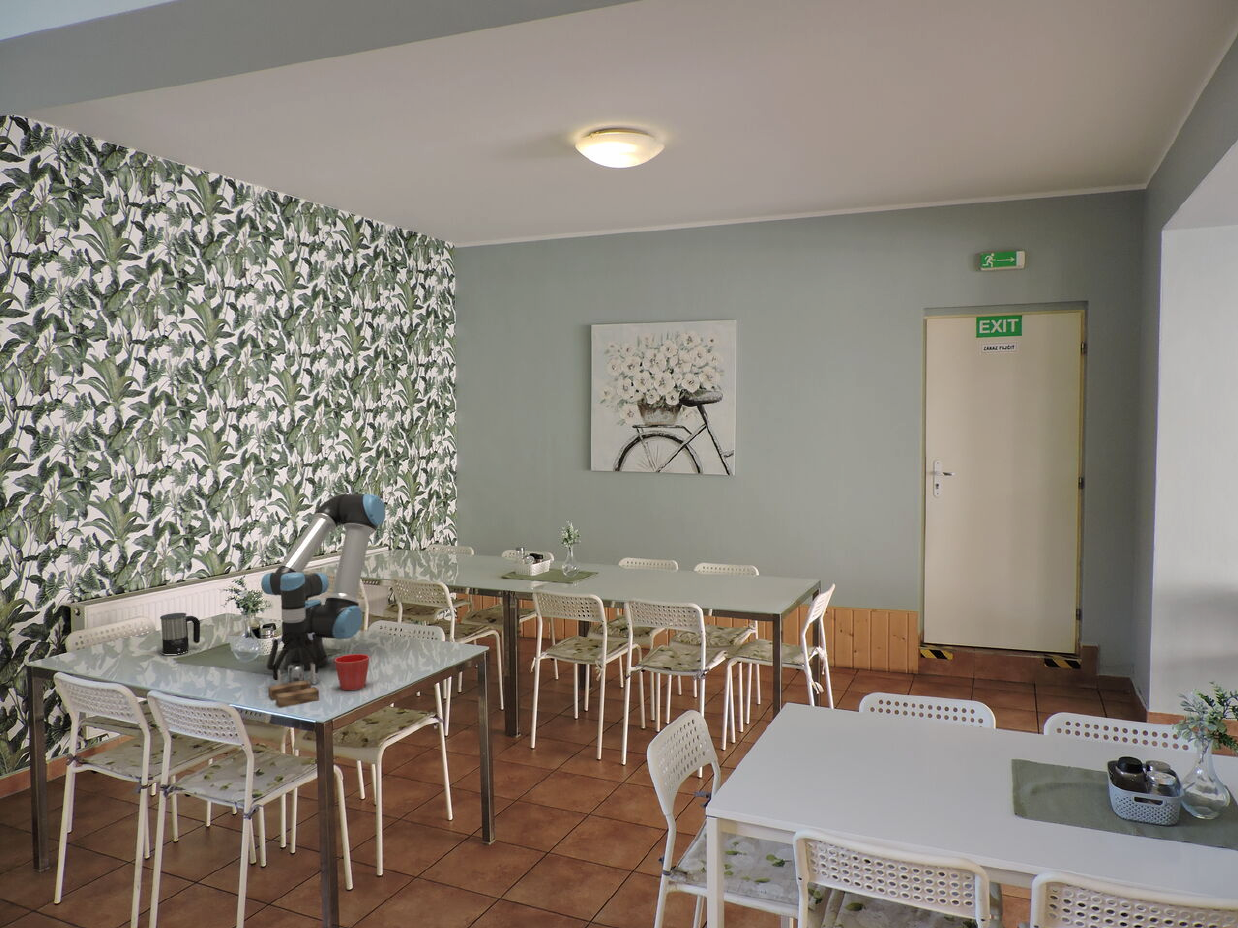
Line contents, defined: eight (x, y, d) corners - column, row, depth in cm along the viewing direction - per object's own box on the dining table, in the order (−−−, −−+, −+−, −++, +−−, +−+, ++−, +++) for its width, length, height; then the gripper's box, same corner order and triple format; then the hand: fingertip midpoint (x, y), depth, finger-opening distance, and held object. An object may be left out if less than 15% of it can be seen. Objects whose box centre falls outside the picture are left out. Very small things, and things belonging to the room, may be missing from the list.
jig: (306, 689, 291) (306, 680, 291) (319, 699, 280) (318, 690, 279) (268, 696, 284) (268, 686, 284) (279, 707, 273) (279, 697, 273)
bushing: (302, 683, 298) (301, 663, 297) (306, 687, 293) (305, 666, 293) (286, 686, 295) (285, 665, 294) (290, 689, 291) (289, 668, 290)
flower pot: (339, 682, 297) (338, 654, 297) (372, 681, 298) (372, 653, 298) (332, 692, 287) (331, 662, 286) (366, 691, 288) (365, 661, 287)
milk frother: (171, 657, 334) (169, 618, 333) (146, 652, 342) (144, 614, 341) (205, 648, 346) (203, 611, 346) (180, 644, 354) (179, 607, 354)
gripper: (325, 613, 302) (327, 677, 304) (254, 623, 289) (257, 689, 291) (332, 617, 296) (334, 682, 297) (260, 627, 283) (262, 695, 284)
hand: (296, 686), depth 294 cm, fingers open, 10 cm apart
